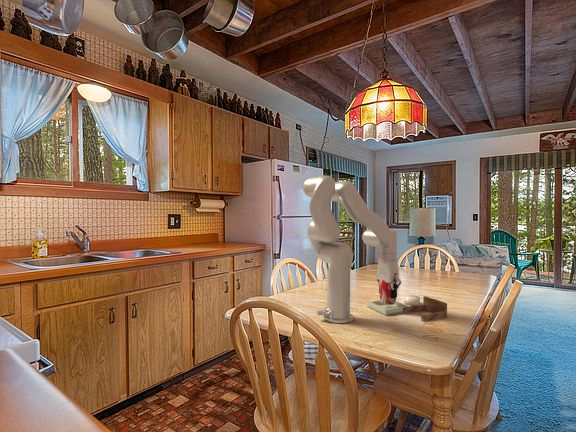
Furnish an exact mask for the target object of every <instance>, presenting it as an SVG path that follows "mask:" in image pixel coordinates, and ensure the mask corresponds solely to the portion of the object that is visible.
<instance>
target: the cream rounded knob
mask: <svg viewBox="0 0 576 432" xmlns="http://www.w3.org/2000/svg"><path fill="white" fill-rule="evenodd" d="M404 304H405V305H407V306H414V305H421V297H420V296H419V295H414V294H406V295H404Z"/></svg>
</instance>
